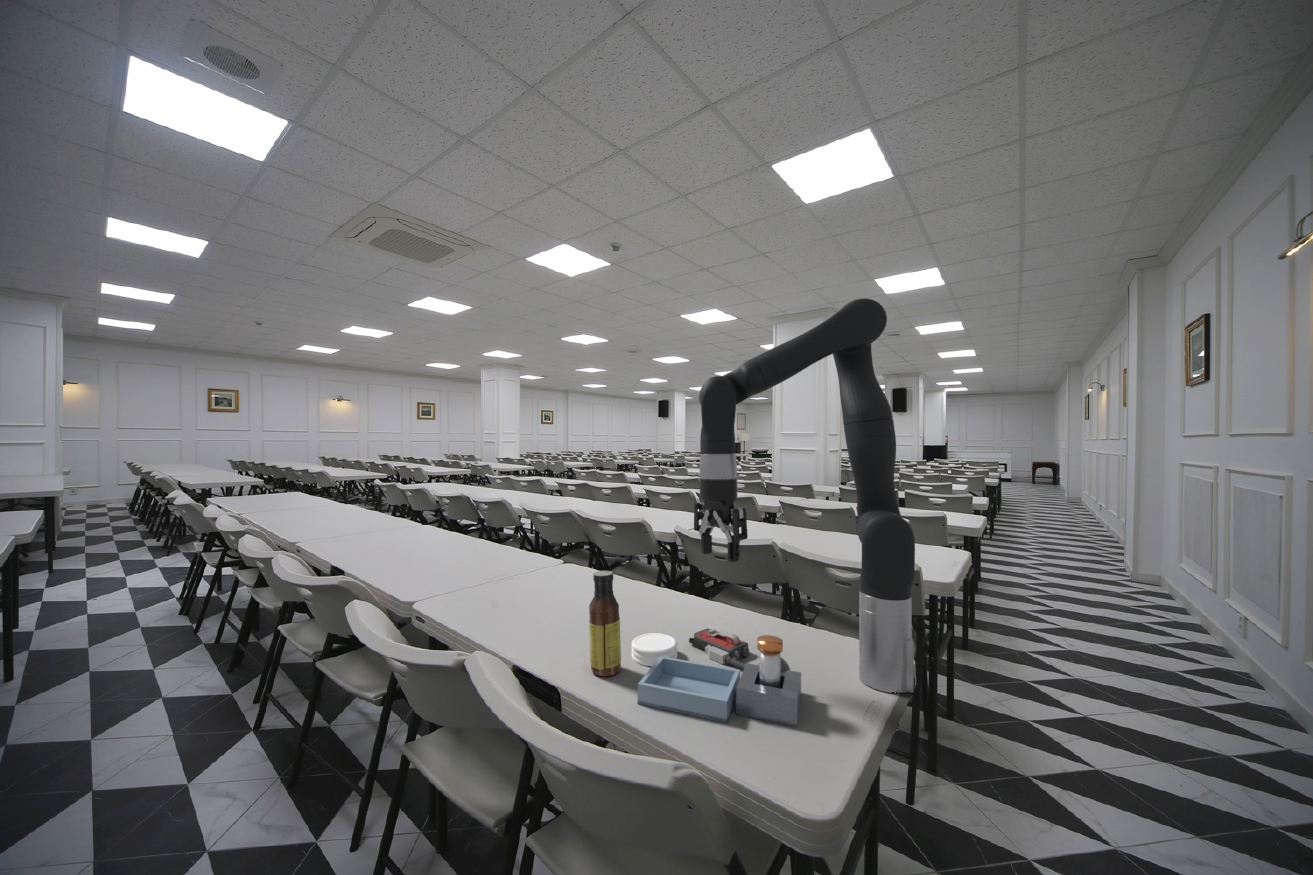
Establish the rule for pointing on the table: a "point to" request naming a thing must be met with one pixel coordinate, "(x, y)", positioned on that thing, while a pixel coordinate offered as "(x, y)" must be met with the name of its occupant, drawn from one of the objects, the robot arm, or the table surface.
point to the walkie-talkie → (721, 646)
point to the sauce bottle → (604, 627)
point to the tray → (690, 688)
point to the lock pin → (769, 660)
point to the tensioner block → (769, 696)
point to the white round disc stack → (653, 648)
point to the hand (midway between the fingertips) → (719, 557)
